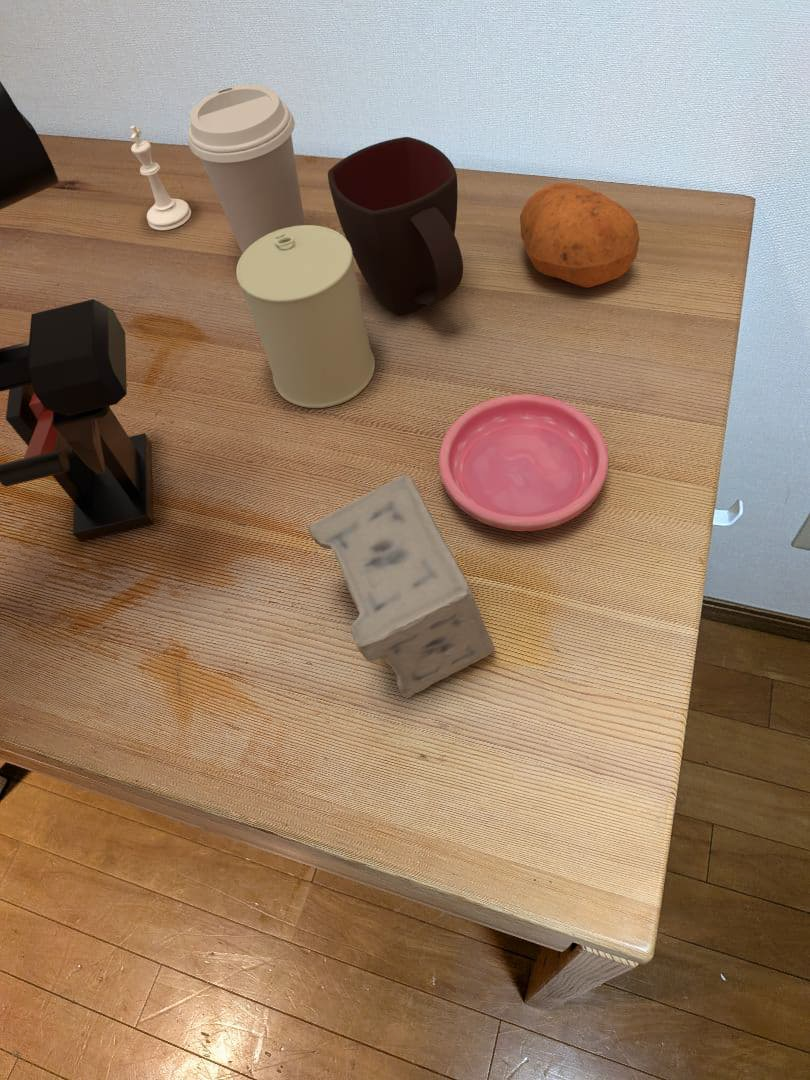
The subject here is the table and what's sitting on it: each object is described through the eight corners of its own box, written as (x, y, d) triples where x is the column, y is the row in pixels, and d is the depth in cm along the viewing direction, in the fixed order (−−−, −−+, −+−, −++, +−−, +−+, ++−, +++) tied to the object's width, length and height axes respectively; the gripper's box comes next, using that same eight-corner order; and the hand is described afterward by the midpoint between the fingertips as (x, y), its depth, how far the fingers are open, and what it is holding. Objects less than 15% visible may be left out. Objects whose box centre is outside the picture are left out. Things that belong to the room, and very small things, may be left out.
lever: (71, 482, 47) (53, 451, 46) (9, 497, 47) (-11, 467, 46) (93, 404, 55) (78, 375, 53) (40, 417, 55) (24, 388, 53)
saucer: (621, 438, 58) (626, 410, 56) (580, 566, 52) (584, 542, 50) (472, 406, 62) (470, 378, 59) (418, 522, 56) (413, 498, 54)
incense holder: (334, 593, 54) (300, 510, 45) (439, 550, 55) (426, 461, 46) (382, 712, 48) (355, 644, 40) (498, 662, 49) (496, 584, 41)
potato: (554, 317, 67) (559, 244, 61) (500, 250, 73) (500, 177, 67) (645, 284, 68) (659, 209, 62) (584, 220, 74) (591, 146, 68)
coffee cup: (327, 225, 78) (294, 74, 66) (320, 283, 73) (282, 132, 61) (240, 233, 79) (191, 86, 67) (226, 291, 74) (170, 143, 62)
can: (352, 322, 70) (326, 205, 60) (391, 383, 65) (370, 266, 55) (261, 358, 68) (219, 244, 58) (293, 423, 63) (253, 311, 53)
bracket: (153, 524, 59) (83, 424, 49) (79, 542, 59) (-6, 445, 49) (150, 441, 64) (86, 336, 54) (82, 458, 64) (6, 355, 54)
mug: (424, 246, 75) (411, 126, 65) (502, 320, 67) (502, 198, 57) (338, 287, 73) (311, 169, 63) (409, 367, 65) (392, 249, 55)
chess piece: (142, 231, 82) (101, 141, 74) (156, 204, 84) (118, 114, 76) (183, 230, 81) (147, 139, 73) (196, 203, 84) (162, 112, 75)
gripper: (55, 137, 38) (169, 364, 51) (-309, 223, 37) (-100, 430, 50) (45, 266, 32) (178, 487, 45) (-392, 371, 31) (-129, 564, 44)
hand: (29, 486), depth 46 cm, fingers open, 9 cm apart
